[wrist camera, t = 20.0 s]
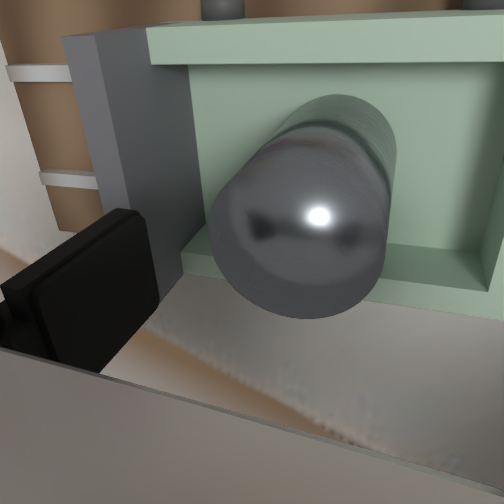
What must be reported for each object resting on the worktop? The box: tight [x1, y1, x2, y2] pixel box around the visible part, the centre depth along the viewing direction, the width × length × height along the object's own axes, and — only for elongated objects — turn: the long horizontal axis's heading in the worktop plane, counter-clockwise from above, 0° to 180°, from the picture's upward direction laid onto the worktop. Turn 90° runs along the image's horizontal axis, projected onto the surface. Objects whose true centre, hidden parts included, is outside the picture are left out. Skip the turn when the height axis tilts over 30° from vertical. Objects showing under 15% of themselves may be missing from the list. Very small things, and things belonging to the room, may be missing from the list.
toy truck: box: [61, 0, 504, 321], centre depth 17 cm, size 15×12×8 cm
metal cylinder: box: [208, 94, 397, 319], centre depth 15 cm, size 5×5×8 cm
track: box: [0, 0, 462, 233], centre depth 21 cm, size 28×14×3 cm, turn 94°
